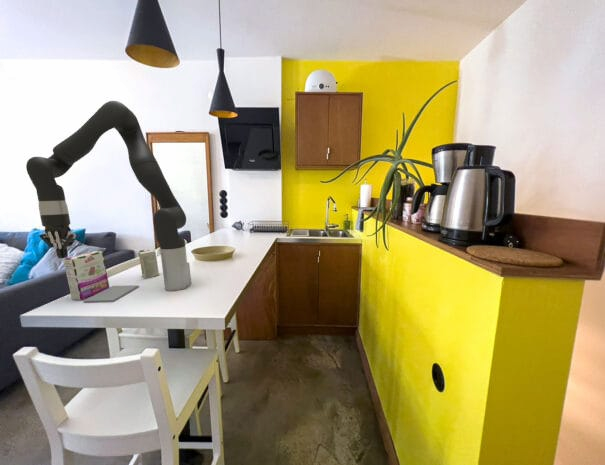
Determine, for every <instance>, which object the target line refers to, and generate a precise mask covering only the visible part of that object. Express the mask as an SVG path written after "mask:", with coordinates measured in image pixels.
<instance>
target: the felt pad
mask: <svg viewBox="0 0 605 465" xmlns="http://www.w3.org/2000/svg"><path fill="white" fill-rule="evenodd" d="M138 288H140V285H139V284H138V285H135V284H134V285H132V284H131V285H112V286H109V288H108V289H106V290H104V291H102V292H100V293H98V294H96V295H94V296H92V297H89V298H87V299H84V300H82V302H83V303H85V304H87V303H91V304H92V303H115V302H116V301H118V300H120V299H121V298H123V297H125V296H126V295H128V294H130V293H132V292H134V291H135V290H137V289H138Z"/></svg>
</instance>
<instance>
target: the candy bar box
mask: <svg viewBox="0 0 605 465" xmlns="http://www.w3.org/2000/svg"><path fill="white" fill-rule="evenodd" d="M62 260H63V265H64V268H65V273H66V278H67V283H68V287H69V292H70V295H71V300H72V301H84V300H86V299H88V298H90V297H92V296H94V295H96V294H98V293H100V292H102V291H104V290H106V289H108V288H110V284H109V278H108V274H107V266H106V262H105V257H104V252H103V251H101V250H100V251H99V250H93V251H90V252H84V253H81V254H77V255H72V256H69V257H68V256H67V257H66V258H62Z"/></svg>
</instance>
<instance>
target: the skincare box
mask: <svg viewBox="0 0 605 465" xmlns="http://www.w3.org/2000/svg"><path fill="white" fill-rule="evenodd" d="M156 253H157V252H156V251H155V250H153V249H150V250H145V251H139V252H138V257H139V258H138V259H139V263H140V264H139V265H140V268H141V275H142V276H141V277H142V278H144V279H150V278H152V277H153V278H154V277H157V276H160V271H159V266H158V260H157V254H156Z"/></svg>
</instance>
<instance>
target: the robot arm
mask: <svg viewBox="0 0 605 465" xmlns="http://www.w3.org/2000/svg"><path fill="white" fill-rule="evenodd" d="M134 113H135V112H133V111H132V110H131V109H130V108H129V107H127V106H126V105H125V104H124V103H122V102H120V101H117V100H109V101H107V102H105V103H104V104H102V105H101V107H99V108H98V109H97V110H96V111H95V112H94V113H93V114H92V115H91V117H89V118H88V120H87V121H86V122H85V123H84V124H83V125H81V127H80V128H78V129H77V130H76V131H75V132H73V133H72V134H71V135H70V136H68V137H67V138H65V139H64V140H62V141H61V142H59V143H58V144H56V145H55V146H54V147H53V148H52V153H53V154H52V155H50V156H49V157H48V158H47V157H43V156H32V157H30V158H29V159H28V160H27V162H26V164H25V167H26V172H27V174H28V177H29V179H30V181H31V183H32V185H33V186H34V188H35V190H36V196H37V201H38V202H37V203H38V210H39V217H40V220H41V225H42V227H44V232H43V233H42V234H39V236H38V237H39V238H40V240H42V241H43V242H44V243H45V244H46V245H47V246H48V247H49V248H53V249H54V250H55V251H56V256H57V257H58V259H64V258H68V256H69V254H68V253H69V252H68V247H72V246H73V244H74V242H75V241H76V239H77V238H78V235H79V234H78V233H76V232H75V233H74V232H72V230H71V227H70V225H71V219H70V212H69V208H68V203H67V201H66V196H65V191H64V188H63V186H62V185H60V184H58V183H57V181H56V178H57V179H58V178H60V177H63V175H65V174H66V173H68V171H69V170H70V169H71V168H72V167H73V165H75V163H77V162H78V161H80V160H81V159H83V158H84V157H85V156H86V155H88V154H90V152H92V150H93V149H94V147H95V146H96V144H97V143H98V141H99V139H100V138H101V137H102V136H103V135H104V134H105V133H107V132H109V131H110V130H112V129H115V130H116V132H118V134H119V135H120V137H121V139H122V140H123V142H124V144H125V146H126V149H127V153H128V154H127V156H128V161H129V165H130V167H131V170H132V171H133V172H132V173H133V174H134V176H135V177H136V180H137V181H138V183H139V184H140V185H141V186H142V187H143V188H144V189H145V190H146V191H147V192H148V194H149V193H150V194H151V196H152V197H154V199H155V200H156V201H157V203H158V205H159V206H160V209H158V210H156V211H155V213H154V215H153V227H154V235H155V238H156V241H157V243H158V245H159V249H160V250H159V252H160V259H161V267H162V275H163V276H162V277H163V284H164V289H165V290H166V291H170V292H171V291H172V292H173V291H179V290H186V288H187V287H190V285H191V284H192V277H191V266H190V262H188V260H187V259H188V257H187V248H186V247H187V246H186V241H185V240H186V239H185V238H183V237H180V235H179V229H182V228H183V227H185V225H186V222H187V216H186V213H185V211H184V210H183V208H182V206H181V205H180V203H179V202H178V200H177V198H176V197H175V195H174V193H173V191H172V189H171V186H170V185H169V183H168V181H167V179H166V178H165V176H164V174H163V170H162V168H161V167H160V165H159V163H158V161H157V159H156V157H155V155H154V153H153V152H152V150H151V148H150V146H149V144H148V143H147V141H146V139H145V136H144V134H143V130H142V128H141V126H140V122H139V120H138V118H137V116H136V114H134Z"/></svg>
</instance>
